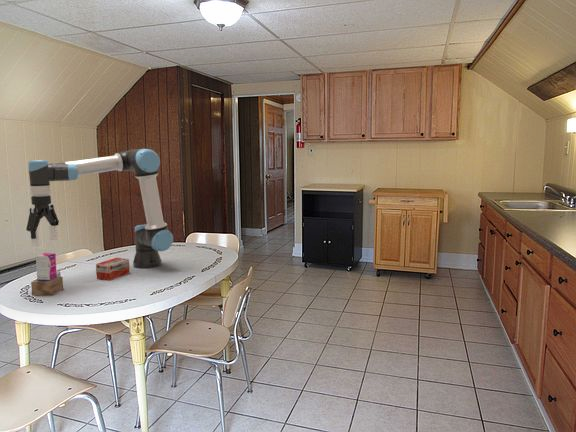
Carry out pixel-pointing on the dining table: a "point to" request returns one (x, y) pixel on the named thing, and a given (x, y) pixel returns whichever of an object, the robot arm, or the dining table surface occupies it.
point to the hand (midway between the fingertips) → (45, 242)
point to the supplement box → (46, 266)
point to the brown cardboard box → (47, 286)
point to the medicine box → (112, 268)
